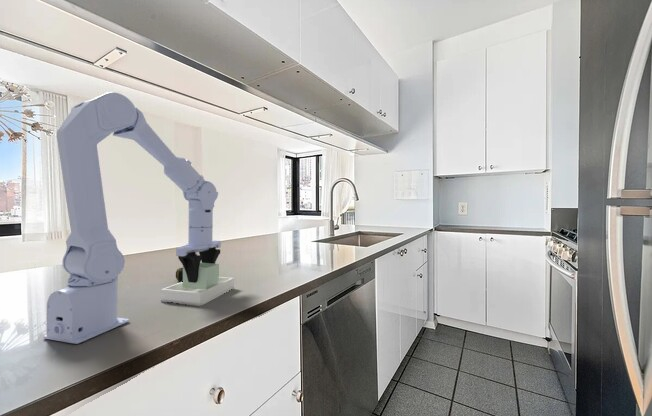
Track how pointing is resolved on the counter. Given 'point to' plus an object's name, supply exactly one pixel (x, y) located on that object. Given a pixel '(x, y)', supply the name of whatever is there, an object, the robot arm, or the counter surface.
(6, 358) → the counter surface
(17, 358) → the counter surface
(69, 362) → the counter surface
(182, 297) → the white shallow tray
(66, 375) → the counter surface
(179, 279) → the tape measure
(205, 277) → the small crate
